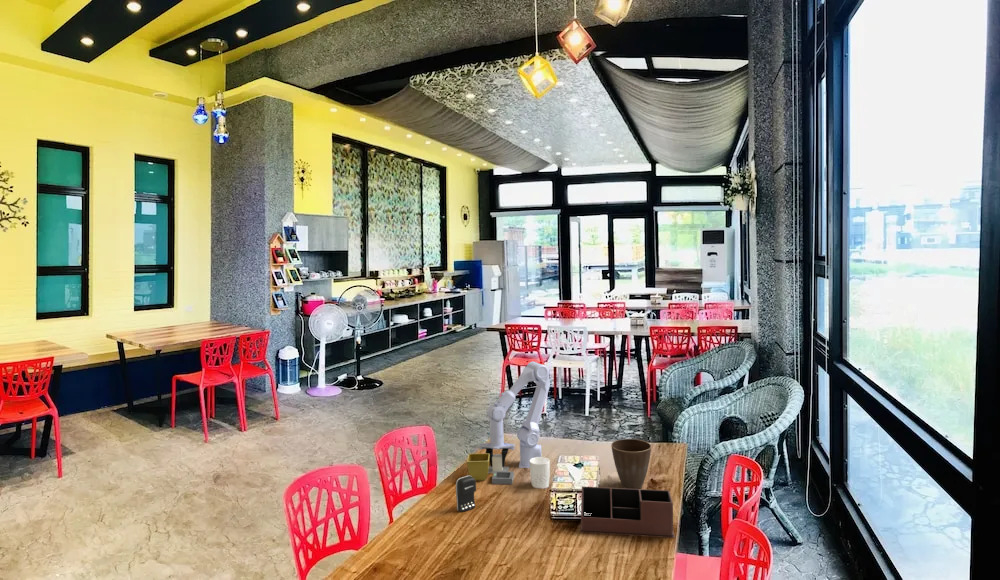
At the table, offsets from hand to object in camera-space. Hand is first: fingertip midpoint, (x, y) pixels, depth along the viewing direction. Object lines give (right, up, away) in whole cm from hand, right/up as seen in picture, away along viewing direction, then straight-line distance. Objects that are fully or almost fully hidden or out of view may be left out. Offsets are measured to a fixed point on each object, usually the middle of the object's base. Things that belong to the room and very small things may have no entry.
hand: (497, 466), depth 234 cm
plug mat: (0, -2, 0) cm, 2 cm away
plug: (0, -2, 0) cm, 2 cm away
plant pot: (+52, -2, -20) cm, 55 cm away
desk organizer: (+42, -4, -53) cm, 68 cm away
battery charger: (-11, -4, -36) cm, 38 cm away
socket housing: (+2, -3, -11) cm, 12 cm away
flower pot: (-7, -3, -8) cm, 11 cm away
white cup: (+17, -3, -17) cm, 24 cm away
